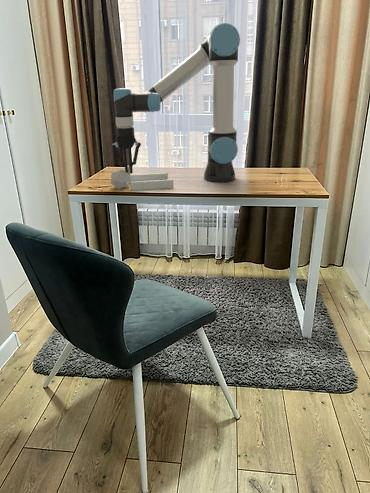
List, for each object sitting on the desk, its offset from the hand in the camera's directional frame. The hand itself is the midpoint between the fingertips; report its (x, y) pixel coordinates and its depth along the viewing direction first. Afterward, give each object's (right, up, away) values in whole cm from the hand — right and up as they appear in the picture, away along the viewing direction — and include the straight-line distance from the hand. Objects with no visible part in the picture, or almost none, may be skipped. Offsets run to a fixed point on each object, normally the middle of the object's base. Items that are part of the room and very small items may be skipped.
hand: (129, 180), depth 182 cm
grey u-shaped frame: (+9, -2, +2) cm, 10 cm away
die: (-3, -4, -2) cm, 5 cm away
